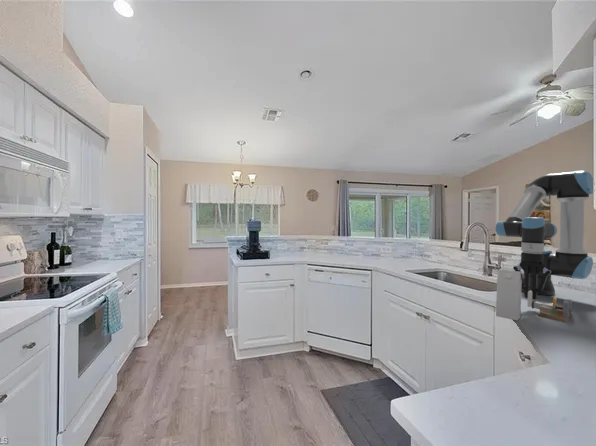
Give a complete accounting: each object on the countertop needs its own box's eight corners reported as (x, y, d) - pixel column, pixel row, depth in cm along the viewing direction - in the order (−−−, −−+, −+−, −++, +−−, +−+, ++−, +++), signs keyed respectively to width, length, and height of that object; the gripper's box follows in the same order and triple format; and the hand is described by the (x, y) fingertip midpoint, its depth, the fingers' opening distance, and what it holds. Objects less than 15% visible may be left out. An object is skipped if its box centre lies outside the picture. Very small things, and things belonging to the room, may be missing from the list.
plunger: (533, 307, 122) (534, 293, 122) (557, 311, 116) (557, 297, 116) (531, 308, 119) (531, 294, 119) (554, 313, 113) (555, 299, 113)
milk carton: (499, 312, 118) (500, 268, 117) (520, 316, 113) (521, 270, 112) (495, 316, 113) (497, 270, 112) (517, 321, 108) (519, 272, 107)
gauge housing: (545, 310, 122) (545, 294, 122) (572, 315, 115) (572, 299, 115) (538, 315, 114) (538, 298, 114) (566, 321, 108) (567, 304, 108)
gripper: (511, 251, 124) (509, 303, 124) (549, 254, 113) (547, 311, 114) (516, 250, 128) (514, 300, 129) (554, 253, 118) (552, 308, 118)
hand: (530, 305), depth 121 cm, fingers closed
